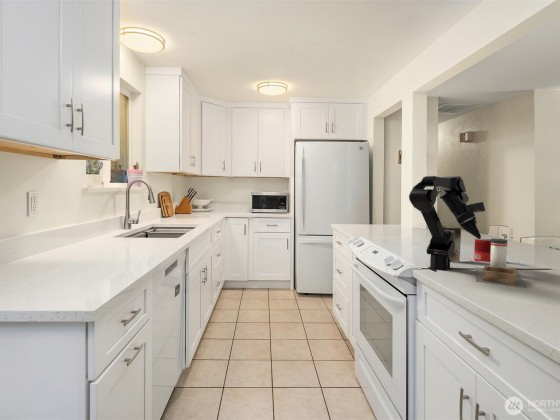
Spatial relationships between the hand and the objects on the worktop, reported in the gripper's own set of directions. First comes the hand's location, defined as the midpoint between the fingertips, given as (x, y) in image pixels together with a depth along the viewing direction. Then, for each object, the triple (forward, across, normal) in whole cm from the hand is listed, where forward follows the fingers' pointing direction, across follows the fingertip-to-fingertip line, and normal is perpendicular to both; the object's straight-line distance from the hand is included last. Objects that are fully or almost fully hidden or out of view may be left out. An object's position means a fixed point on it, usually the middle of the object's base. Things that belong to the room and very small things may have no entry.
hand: (479, 237), depth 122 cm
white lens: (+14, 0, +2) cm, 14 cm away
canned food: (+9, +25, +4) cm, 27 cm away
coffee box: (+2, +15, +16) cm, 22 cm away
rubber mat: (+16, -4, +3) cm, 17 cm away
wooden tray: (+16, -10, +3) cm, 19 cm away
